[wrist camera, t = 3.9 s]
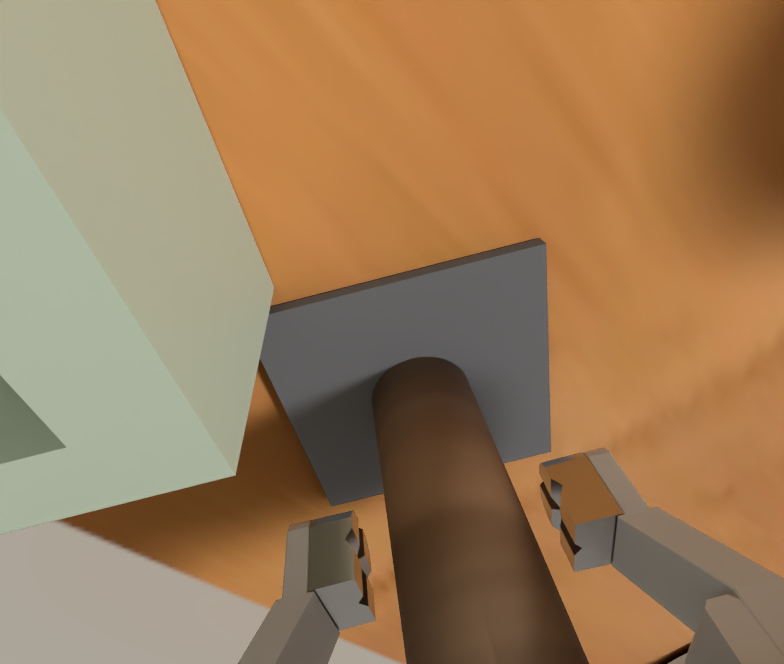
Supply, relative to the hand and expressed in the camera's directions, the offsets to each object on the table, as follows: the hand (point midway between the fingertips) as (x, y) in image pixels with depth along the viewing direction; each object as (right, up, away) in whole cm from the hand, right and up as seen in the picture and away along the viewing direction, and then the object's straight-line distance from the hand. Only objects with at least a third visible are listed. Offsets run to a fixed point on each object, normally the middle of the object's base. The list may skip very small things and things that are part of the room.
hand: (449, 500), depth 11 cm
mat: (0, +2, +3) cm, 4 cm away
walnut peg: (0, +2, +3) cm, 4 cm away
